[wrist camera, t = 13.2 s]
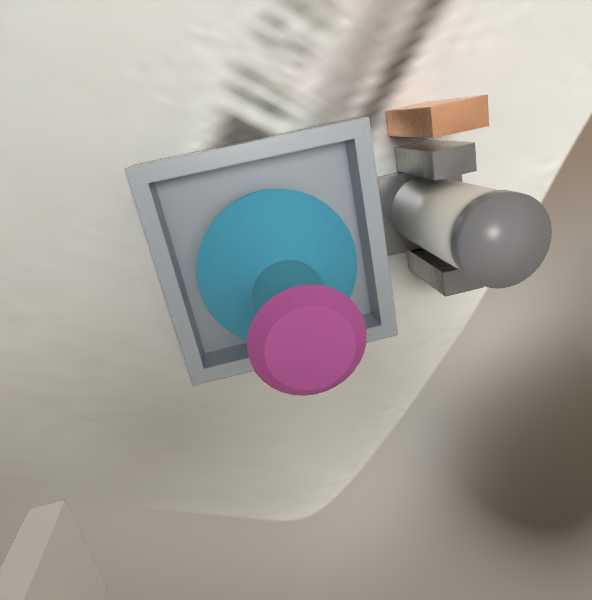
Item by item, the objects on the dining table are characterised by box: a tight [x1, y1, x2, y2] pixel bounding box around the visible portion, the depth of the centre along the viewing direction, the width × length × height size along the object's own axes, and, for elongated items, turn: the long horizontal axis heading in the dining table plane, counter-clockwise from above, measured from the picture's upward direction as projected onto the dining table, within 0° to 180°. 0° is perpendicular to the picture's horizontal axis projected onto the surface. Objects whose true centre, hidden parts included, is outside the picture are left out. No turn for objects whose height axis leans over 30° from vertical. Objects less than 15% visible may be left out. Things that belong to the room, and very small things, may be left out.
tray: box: [125, 117, 398, 386], centre depth 31 cm, size 14×14×3 cm
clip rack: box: [377, 95, 489, 297], centre depth 26 cm, size 6×31×7 cm, turn 12°
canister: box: [392, 176, 552, 288], centre depth 28 cm, size 5×5×10 cm
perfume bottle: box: [196, 189, 366, 395], centre depth 25 cm, size 9×9×15 cm
